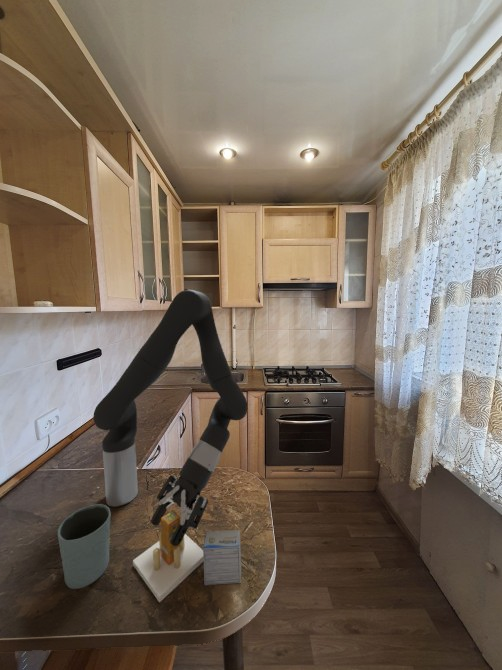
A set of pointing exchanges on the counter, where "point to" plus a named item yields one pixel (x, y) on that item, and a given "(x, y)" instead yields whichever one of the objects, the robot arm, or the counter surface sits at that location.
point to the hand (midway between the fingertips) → (163, 534)
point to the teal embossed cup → (85, 545)
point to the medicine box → (222, 557)
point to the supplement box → (168, 535)
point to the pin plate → (168, 566)
